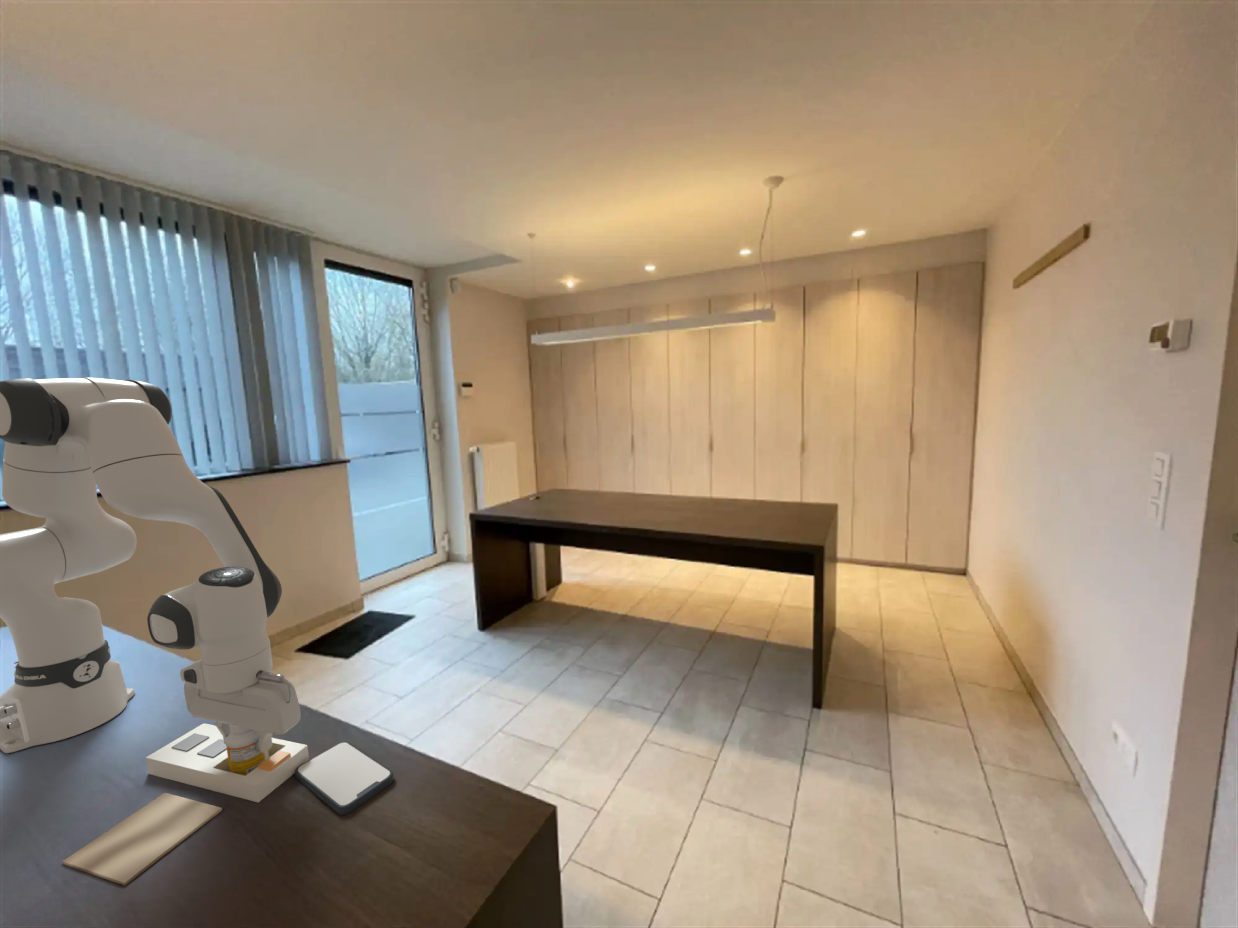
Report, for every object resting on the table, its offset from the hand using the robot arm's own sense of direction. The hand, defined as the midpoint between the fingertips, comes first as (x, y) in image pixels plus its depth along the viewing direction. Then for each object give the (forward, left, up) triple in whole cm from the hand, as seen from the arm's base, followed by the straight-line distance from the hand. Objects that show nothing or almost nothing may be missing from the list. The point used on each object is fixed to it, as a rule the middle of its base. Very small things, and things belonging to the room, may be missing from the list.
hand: (248, 745), depth 81 cm
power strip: (-5, 0, -5) cm, 7 cm away
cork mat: (-3, -13, -5) cm, 14 cm away
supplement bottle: (0, 0, -5) cm, 5 cm away
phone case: (+16, +3, -6) cm, 17 cm away
